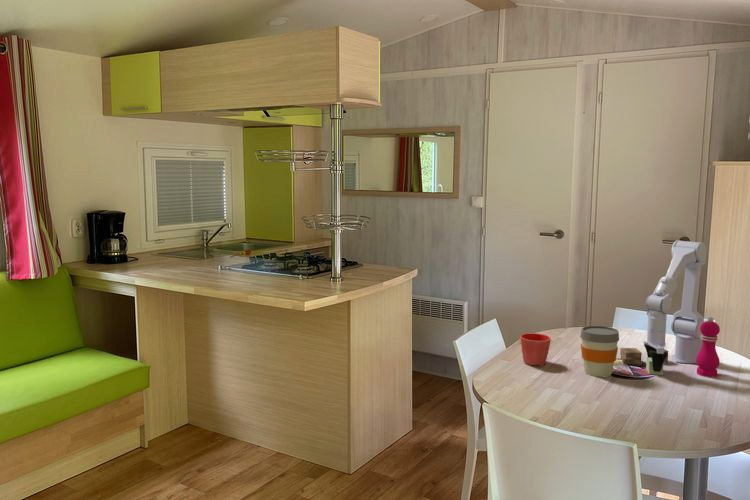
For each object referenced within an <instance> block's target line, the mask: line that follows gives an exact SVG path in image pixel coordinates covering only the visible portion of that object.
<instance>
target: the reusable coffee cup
mask: <svg viewBox="0 0 750 500" xmlns="http://www.w3.org/2000/svg"><path fill="white" fill-rule="evenodd" d="M580 329H581V331H580V338H581V344H580V351H581V358H582V359H583V368H584V373H585V374H587V375H588V376H589V375H590V376H593V377H601V378H603V377H604V378H606V377H610V376H612V375H611V374H613V370H614V363H615V362H616V360H617V356H618V351H619V347H618V342H619V341H620V335H619V334H620V332H619V330H618V329H616V328H613V327H610V326H604V325H587V326H583V327H581V328H580Z"/></svg>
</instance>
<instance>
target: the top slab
mask: <svg viewBox="0 0 750 500" xmlns="http://www.w3.org/2000/svg"><path fill="white" fill-rule="evenodd" d="M619 348H620V349H619V350H620V351H619V353H620V354H619V356H620V357H621V356H622V357H623V358H625V359H641V360H642V352H641V351H640V350H639V349H638V348H636V347H626V348H625V347H619Z"/></svg>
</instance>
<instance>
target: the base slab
mask: <svg viewBox="0 0 750 500" xmlns="http://www.w3.org/2000/svg"><path fill="white" fill-rule="evenodd" d="M621 360H622V361H621ZM620 361H621V363H622V362H623V363H622V365H624V364H634V365H633V366H642V358H641V359H625V358H623V357H622V356H621V355H620Z"/></svg>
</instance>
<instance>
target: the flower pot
mask: <svg viewBox="0 0 750 500" xmlns="http://www.w3.org/2000/svg"><path fill="white" fill-rule="evenodd" d="M551 341H552V338H551V337H550V336H548V334H542V333H536V332H535V333H533V332H530V333H528V332H527V333H523V334H521V335H520V345H521V354H522V359H523V363H524V362H525V363H527V364H526V365H528V364H531V365H530V366H532V365H542V366H544V364H545V365H546V362H547V358H548V354H549V349H550V345H551ZM525 363H524V364H525Z"/></svg>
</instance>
